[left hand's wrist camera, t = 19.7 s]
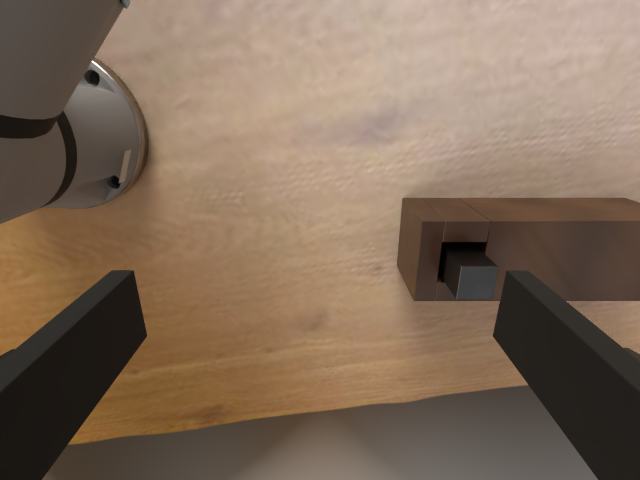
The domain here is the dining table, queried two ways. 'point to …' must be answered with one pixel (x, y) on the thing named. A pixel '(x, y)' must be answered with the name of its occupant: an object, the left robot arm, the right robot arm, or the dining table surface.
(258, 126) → the dining table surface
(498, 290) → the peg block
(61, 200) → the left robot arm
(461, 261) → the peg
